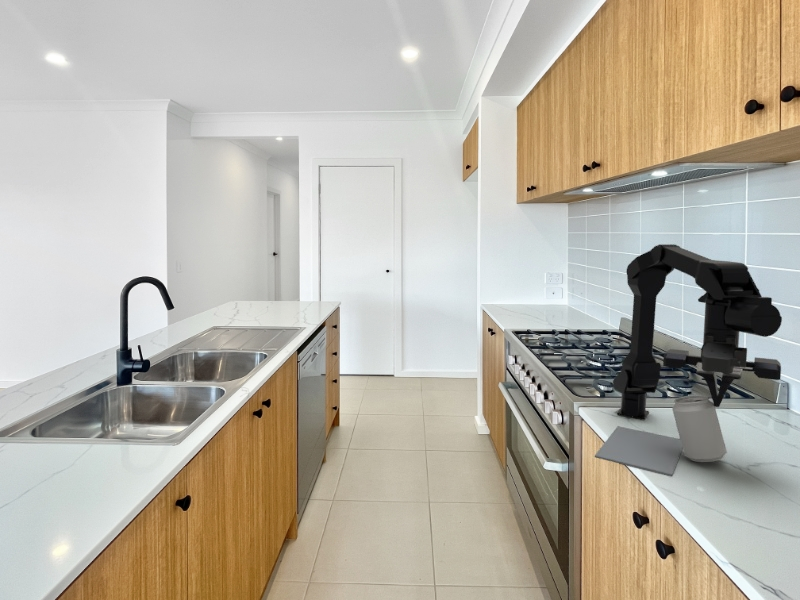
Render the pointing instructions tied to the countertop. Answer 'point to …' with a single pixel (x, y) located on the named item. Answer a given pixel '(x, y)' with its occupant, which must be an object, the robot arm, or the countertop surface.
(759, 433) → the countertop surface
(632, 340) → the robot arm
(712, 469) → the countertop surface
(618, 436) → the mat
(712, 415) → the can
